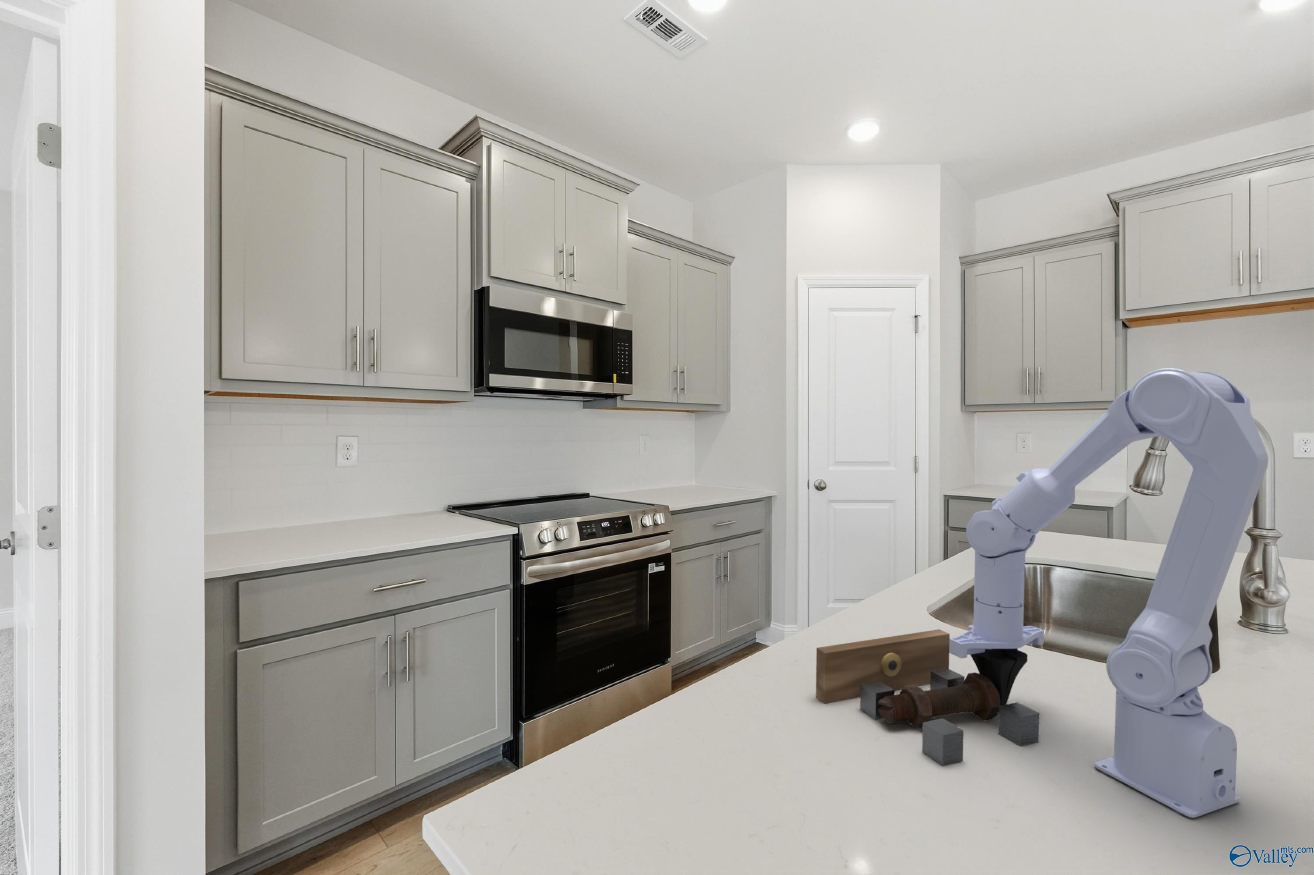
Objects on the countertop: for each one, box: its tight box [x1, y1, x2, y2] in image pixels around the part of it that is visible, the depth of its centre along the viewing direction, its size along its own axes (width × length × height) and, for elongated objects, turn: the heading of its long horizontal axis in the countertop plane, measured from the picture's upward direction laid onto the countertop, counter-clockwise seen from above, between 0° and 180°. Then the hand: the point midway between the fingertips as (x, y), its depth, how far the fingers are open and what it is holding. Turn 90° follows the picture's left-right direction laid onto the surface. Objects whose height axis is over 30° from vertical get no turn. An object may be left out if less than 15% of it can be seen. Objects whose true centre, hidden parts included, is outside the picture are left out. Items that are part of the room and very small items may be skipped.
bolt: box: [878, 672, 1000, 728], centre depth 78 cm, size 6×5×15 cm
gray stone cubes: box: [859, 668, 1040, 767], centre depth 77 cm, size 14×15×4 cm
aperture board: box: [815, 629, 951, 705], centre depth 87 cm, size 3×22×7 cm, turn 110°
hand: (996, 703), depth 80 cm, fingers closed
